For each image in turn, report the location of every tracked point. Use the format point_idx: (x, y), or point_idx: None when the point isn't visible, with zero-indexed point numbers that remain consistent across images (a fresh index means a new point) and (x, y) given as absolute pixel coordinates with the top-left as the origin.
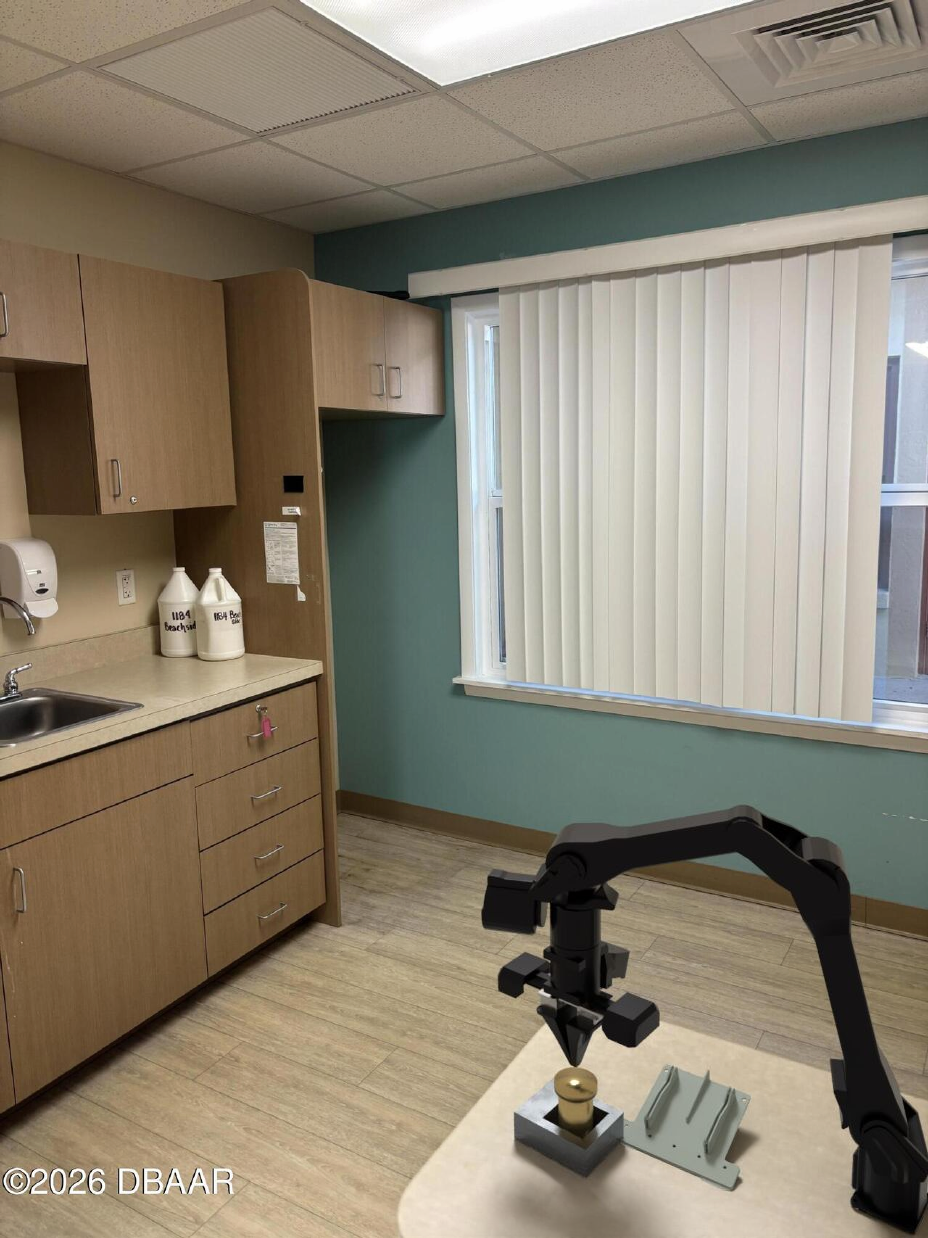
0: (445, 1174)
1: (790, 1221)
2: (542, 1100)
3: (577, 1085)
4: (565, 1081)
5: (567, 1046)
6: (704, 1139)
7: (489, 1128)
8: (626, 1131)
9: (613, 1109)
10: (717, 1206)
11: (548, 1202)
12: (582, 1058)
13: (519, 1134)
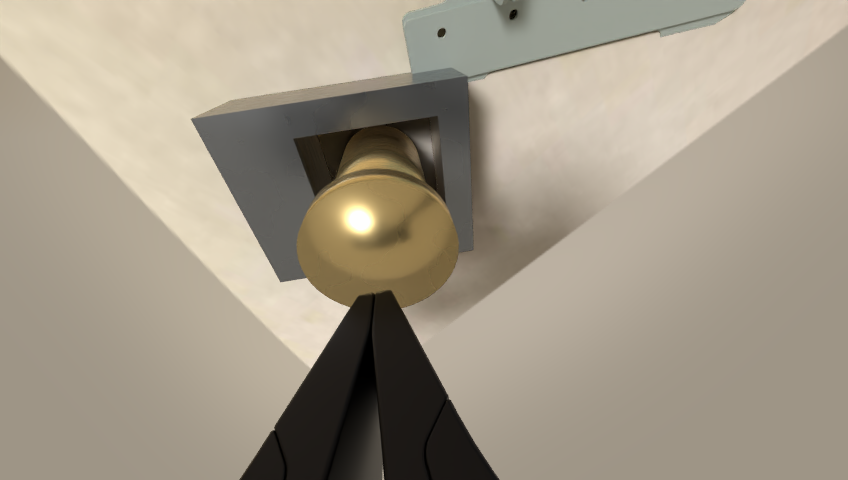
0: (308, 342)
1: None
2: (278, 214)
3: (402, 265)
4: (360, 280)
5: (380, 452)
6: None
7: (243, 256)
8: (451, 50)
9: (437, 92)
10: (702, 82)
11: (446, 282)
12: (399, 307)
13: None
